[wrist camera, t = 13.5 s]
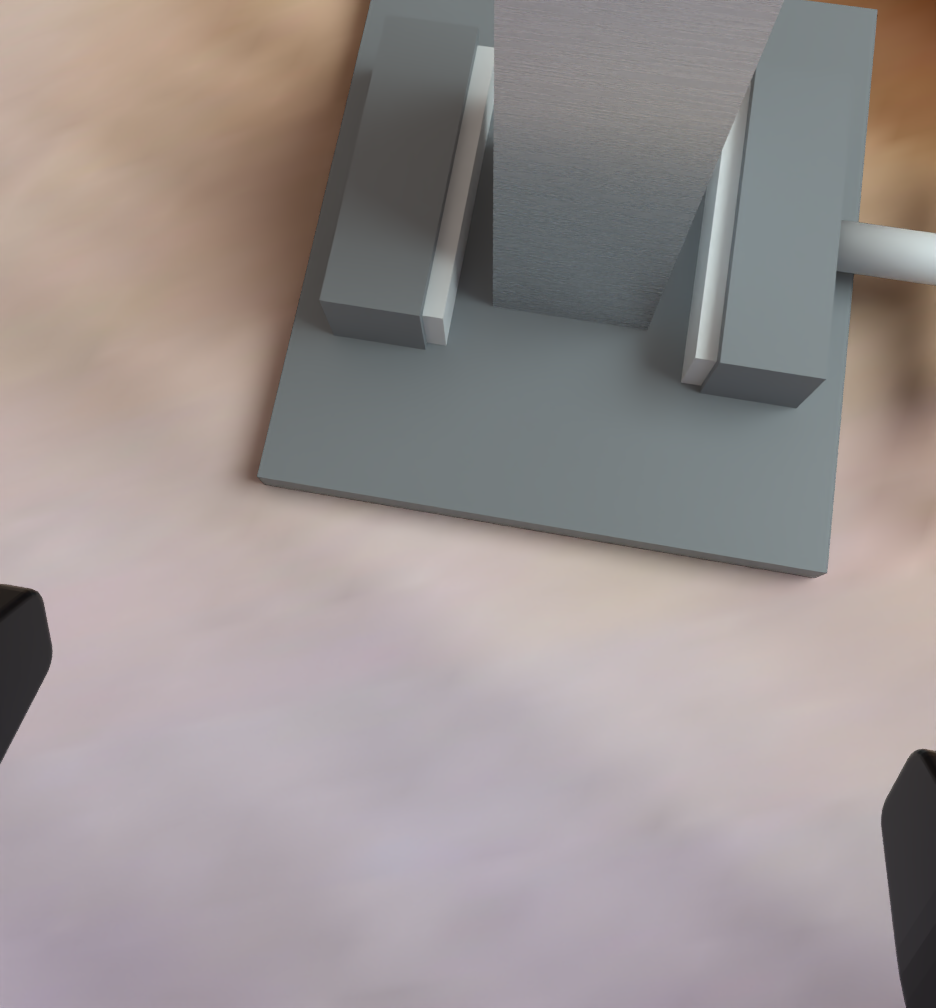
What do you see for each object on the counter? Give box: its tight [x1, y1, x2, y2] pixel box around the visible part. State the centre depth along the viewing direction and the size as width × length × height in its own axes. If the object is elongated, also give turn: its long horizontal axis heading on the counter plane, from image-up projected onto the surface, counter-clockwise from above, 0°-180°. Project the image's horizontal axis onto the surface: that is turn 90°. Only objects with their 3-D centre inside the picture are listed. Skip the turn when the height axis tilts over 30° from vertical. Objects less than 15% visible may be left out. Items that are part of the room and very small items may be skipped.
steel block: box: [493, 0, 784, 330], centre depth 17 cm, size 5×4×12 cm
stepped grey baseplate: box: [257, 0, 936, 578], centre depth 23 cm, size 16×18×3 cm
